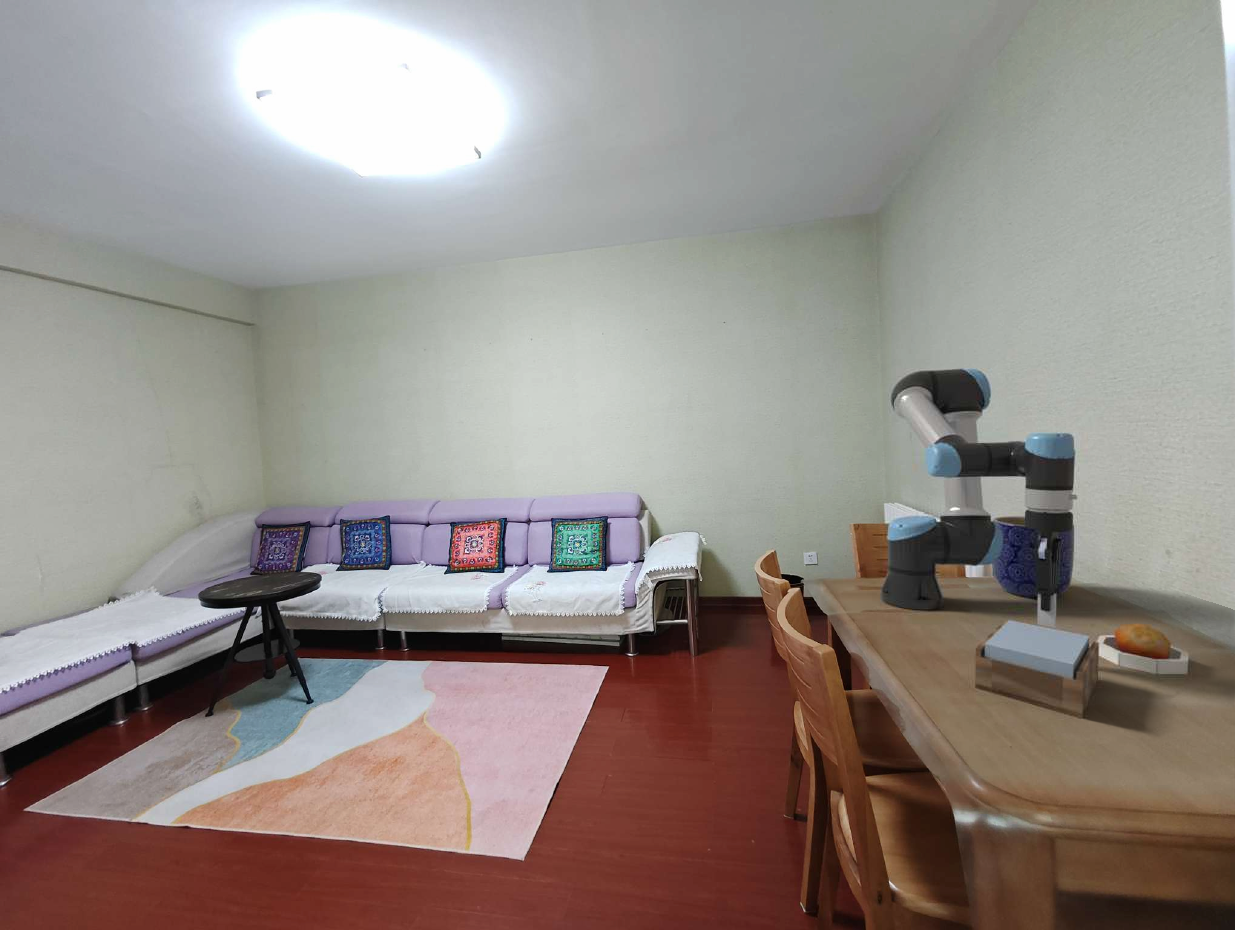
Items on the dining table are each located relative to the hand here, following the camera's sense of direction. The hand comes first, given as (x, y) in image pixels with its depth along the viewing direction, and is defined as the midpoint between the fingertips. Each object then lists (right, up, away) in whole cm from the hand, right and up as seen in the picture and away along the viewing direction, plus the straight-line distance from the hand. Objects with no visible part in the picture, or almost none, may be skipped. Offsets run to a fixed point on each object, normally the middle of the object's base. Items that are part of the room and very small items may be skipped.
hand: (1046, 624), depth 108 cm
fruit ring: (+19, -7, 0) cm, 20 cm away
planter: (+31, -4, +44) cm, 53 cm away
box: (-9, -8, -9) cm, 16 cm away
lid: (-9, -2, -10) cm, 14 cm away
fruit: (+19, -7, 0) cm, 20 cm away
